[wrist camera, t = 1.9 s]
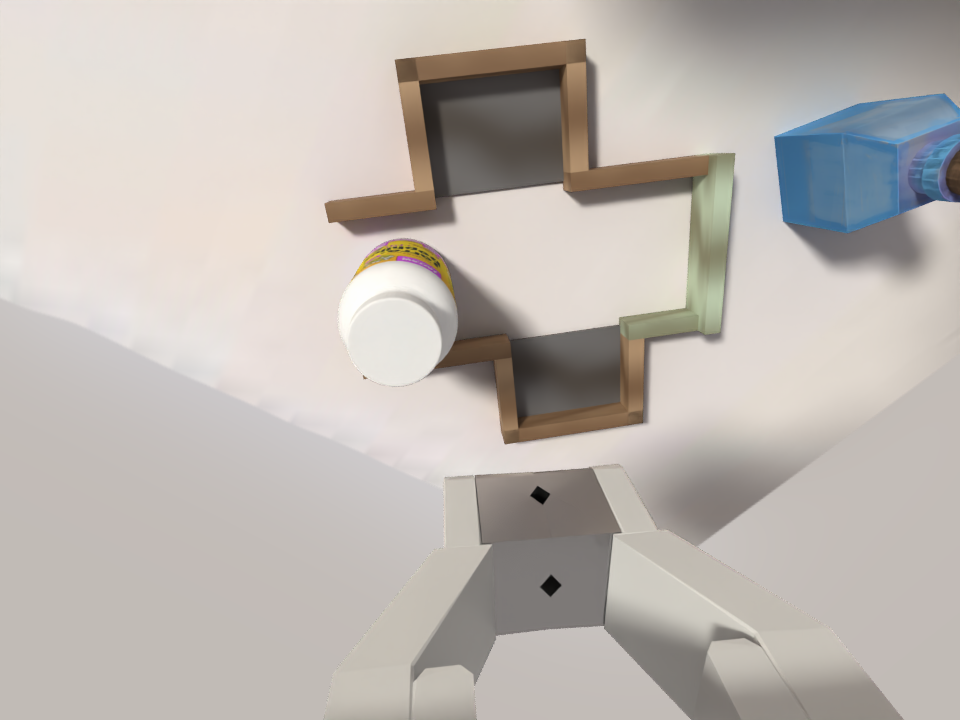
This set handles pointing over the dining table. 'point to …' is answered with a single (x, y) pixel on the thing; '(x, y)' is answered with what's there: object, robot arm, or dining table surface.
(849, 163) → the perfume bottle
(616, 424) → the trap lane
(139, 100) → the dining table surface
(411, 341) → the supplement bottle
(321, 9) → the dining table surface
